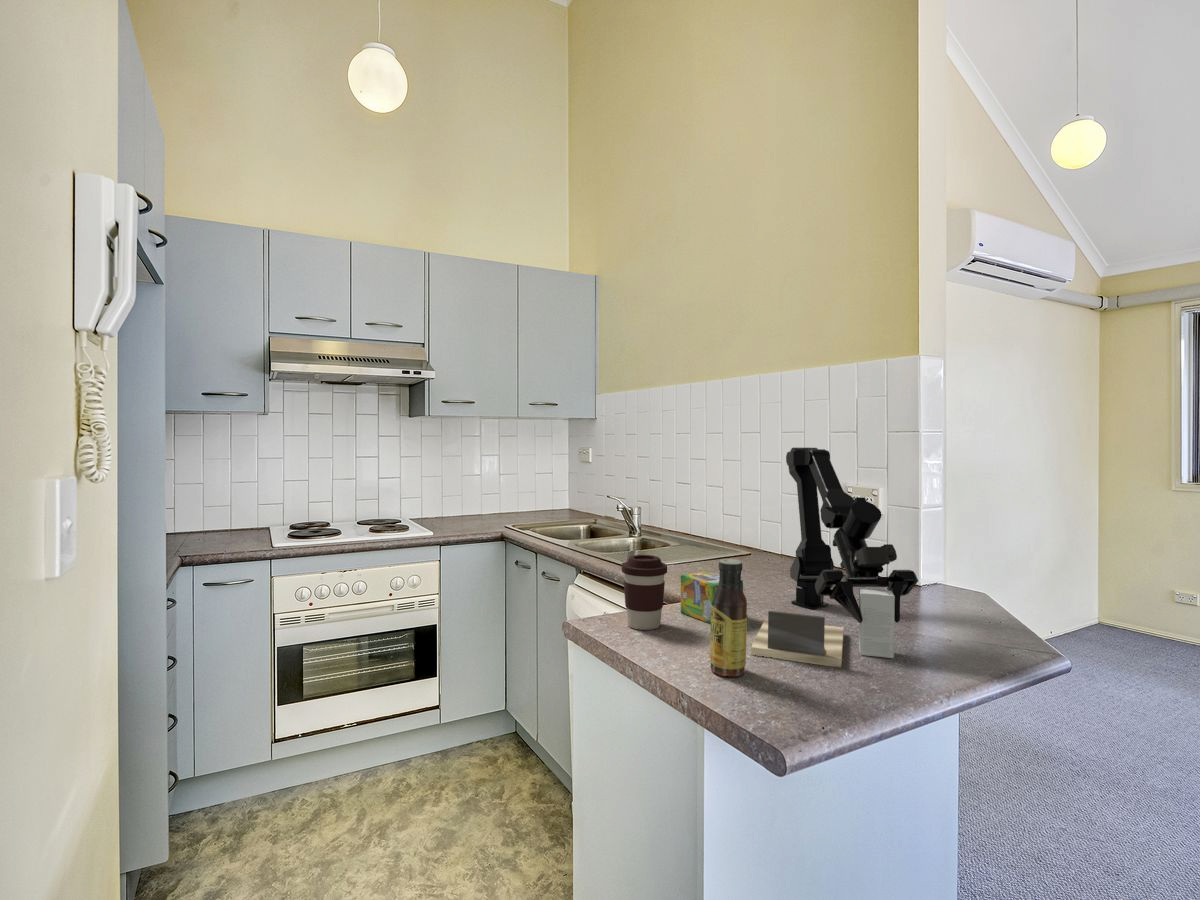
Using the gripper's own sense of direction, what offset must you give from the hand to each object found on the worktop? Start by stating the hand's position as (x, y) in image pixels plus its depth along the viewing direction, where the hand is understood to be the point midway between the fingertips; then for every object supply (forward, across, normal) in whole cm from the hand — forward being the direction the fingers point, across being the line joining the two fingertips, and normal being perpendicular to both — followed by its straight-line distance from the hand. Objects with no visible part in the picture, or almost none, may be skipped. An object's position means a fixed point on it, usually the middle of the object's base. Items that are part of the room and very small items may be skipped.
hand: (879, 621), depth 117 cm
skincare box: (+4, 0, +6) cm, 7 cm away
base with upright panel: (0, -13, +10) cm, 16 cm away
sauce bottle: (+10, -31, 0) cm, 32 cm away
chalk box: (-20, -30, +24) cm, 43 cm away
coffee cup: (-9, -43, +19) cm, 47 cm away
